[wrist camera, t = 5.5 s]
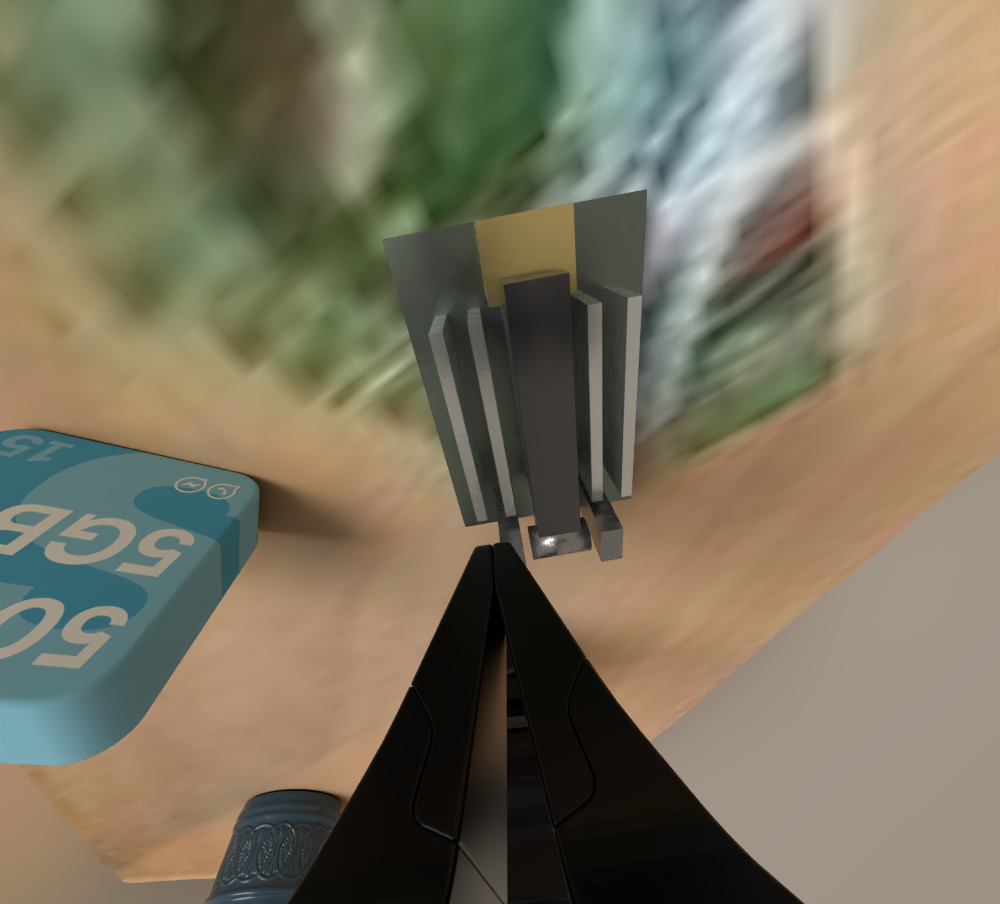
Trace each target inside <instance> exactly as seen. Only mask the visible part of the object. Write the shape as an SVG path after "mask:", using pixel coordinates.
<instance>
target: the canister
mask: <svg viewBox="0 0 1000 904" xmlns="http://www.w3.org/2000/svg"><path fill="white" fill-rule="evenodd" d="M341 810H342V804H341V802H340V801H339V800H338V799H336V798H335V797H332V796H330V795H327V794H323V793H318V792H310V791H280V792H272V793H267V794H263V795H259V796H257V797H254V798H252V799H250V800H249V801H248V802H247V803H246V804H245V806H244V808H243V810H242V812H241V813H240V815H239V816H238V818H237V822H236V824H235V826H234V828H233V834H232V837H231V840H230V843H229V845H228V848H227V850H226V853H225V856H224V858H223V861H222V863H221V866H220V869H219V871H218V874H217V876H216V879H215V882H214V884H213V887H212V889H211V892H210V894H209V897H208V898H207V899H206V901H205V903H204V904H287V903H288V901H289V900H290V898H291V897H292V895H293V894H294V892H295V891H296V889H297V888H298V886H299V885H300V883H301V882H302V880H303V878H304V877H305V875H306V873H307V872H308V870H309V868H310V867H311V865H312V863H313V862H314V860H315V858H316V857H317V855H318V853H319V851H320V850H321V848H322V846H323V844H324V843H325V841H326V839H327V838H328V836H329V834H330V832H331V831H332V829H333V827H334V826H335V824H336V822H337V820H338V819H339V817H340V815H341Z"/></svg>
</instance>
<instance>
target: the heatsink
mask: <svg viewBox="0 0 1000 904" xmlns="http://www.w3.org/2000/svg"><path fill="white" fill-rule="evenodd" d="M646 198H647V189H646V190H641V191H636V192H630V193H625V194H620V195H615V196H609V197H604V198H599V199H594V200H588V201H583V202H578V203H568V204H563V205H558V206H552V207H547V208H542V209H536V210H531V211H526V212H521V213H515V214H510V215H505V216H500V217H494V218H489V219H484V220H478V221H475V222H472V223H467V224H462V225H456V226H451V227H446V228H441V229H435V230H430V231H425V232H419V233H414V234H409V235H404V236H398V237H393V238H388V239H383V240H382V242H383V246H384V249H385V253H386V256H387V260H388V263H389V266H390V270H391V273H392V277H393V280H394V284H395V287H396V290H397V294H398V297H399V301H400V304H401V308H402V311H403V314H404V318H405V321H406V325H407V328H408V332H409V335H410V338H411V342H412V345H413V349H414V352H415V356H416V359H417V362H418V366H419V369H420V373H421V376H422V380H423V383H424V386H425V390H426V393H427V397H428V400H429V404H430V407H431V411H432V414H433V417H434V421H435V424H436V428H437V431H438V435H439V438H440V441H441V445H442V448H443V452H444V455H445V459H446V462H447V465H448V469H449V472H450V476H451V479H452V483H453V486H454V489H455V493H456V496H457V500H458V503H459V507H460V510H461V513H462V517H463V520H464V524H465V527H467V526H473V525H479V524H485V523H491V522H496V521H498V525H499V535H500V543H501V542H510V543H511V545H512V546H513V548H514V549H515V551H516V552H517V554H518V555H519V557H520V558H521V560H522V561H523V563H524V564H525V566H526V561H525V555H524V549H523V544H522V538H521V532H520V526H519V521H518V518H520V517H525V516H531V515H534V509H533V502H532V495H531V488H530V481H529V474H528V467H527V460H526V453H525V446H524V439H523V432H522V425H521V417H520V410H519V403H518V396H517V389H516V382H515V375H514V368H513V361H512V354H511V347H510V340H509V333H508V326H507V319H506V312H505V304H504V297H503V290H502V283H501V281H502V280H508V279H513V278H519V277H524V276H529V275H535V274H540V273H545V272H551V271H556V270H562V269H564V270H566V271H568V272H569V273H570V296H571V320H572V343H573V367H574V390H575V413H576V437H577V460H578V484H579V507H580V509H581V512H582V514H583V517H584V518H585V520H586V522H587V525H588V528H589V532H590V534H591V537H592V539H593V542H594V544H595V547H596V549H597V552H598V554H599V557H600V559H601V562H602V561H608V560H614V559H620V558H622V545H623V527H622V525H621V523H620V521H619V519H618V518H617V516H616V514H615V512H614V510H613V508H612V506H611V504H610V502H612V501H618V500H624V499H630V498H631V495H632V478H633V460H634V441H635V422H636V403H637V385H638V366H639V347H640V328H641V310H642V295H641V294H642V275H643V255H644V236H645V217H646Z"/></svg>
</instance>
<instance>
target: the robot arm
mask: <svg viewBox="0 0 1000 904" xmlns="http://www.w3.org/2000/svg"><path fill="white" fill-rule="evenodd" d="M287 904H804V903H803V902H802V901H801V900H799V899H798V898H797V897H796V896H795V895H794V894H793V893H792V892H790V891H789V890H788V889H787V888H786V887H785V886H783V885H782V884H781V883H780V882H779V881H778V880H777V879H776V878H774V877H773V876H772V875H771V874H770V873H769V872H768V871H766V870H765V869H764V868H763V867H762V866H761V865H759V864H758V863H757V862H756V861H755V860H754V859H753V858H752V857H751V856H750V855H749V854H748V853H747V852H746V851H745V850H744V849H743V848H742V847H741V846H740V845H739V844H737V842H736V841H735V840H734V839H733V838H732V837H731V836H730V835H729V834H728V833H727V832H726V831H725V830H724V829H723V827H722V826H721V825H720V824H719V823H718V822H717V821H716V820H715V819H714V818H713V816H712V815H711V814H710V813H709V812H708V811H707V810H706V808H705V807H704V806H703V805H702V804H701V803H700V801H699V800H698V799H697V798H696V797H695V795H694V794H693V793H692V792H691V791H690V790H689V788H688V787H687V786H686V785H685V783H684V782H683V781H682V780H681V779H680V777H679V776H678V775H677V774H676V773H675V771H674V770H673V769H672V768H671V767H670V765H669V764H668V763H667V762H666V761H665V760H664V758H663V757H662V756H661V755H660V754H659V752H658V751H657V750H656V749H655V748H654V746H653V745H652V744H651V743H650V742H649V740H648V739H647V738H646V737H645V736H644V734H643V733H642V732H641V731H640V730H639V728H638V727H637V726H636V725H635V723H634V722H633V721H632V719H631V718H630V717H629V716H628V714H627V713H626V712H625V711H624V709H623V708H622V707H621V706H620V704H619V703H618V702H617V700H616V699H615V697H614V696H613V695H612V693H611V692H610V690H609V689H608V688H607V686H606V685H605V683H604V682H603V681H602V679H601V678H600V676H599V675H598V673H597V672H596V670H595V669H594V667H593V666H592V664H591V663H590V661H589V660H588V659H586V656H585V654H584V653H583V651H582V650H581V648H580V647H579V645H578V644H577V642H576V641H575V639H574V638H573V636H572V635H571V633H570V632H569V630H568V629H567V627H566V626H565V624H564V623H563V621H562V620H561V618H560V617H559V615H558V614H557V612H556V611H555V609H554V608H553V606H552V605H551V603H550V602H549V600H548V599H547V597H546V596H545V594H544V593H543V591H542V590H541V588H540V587H539V585H538V584H537V582H536V581H535V579H534V578H533V576H532V575H531V573H530V572H529V570H528V569H527V567H526V566H525V564H524V563H523V561H522V560H521V558H520V557H519V555H518V554H517V552H516V551H515V549H514V548H513V546H512V545H511V543H510V542H501V543H495V544H494V545H493V546H492V545H483V546H477V547H476V548H475V549H474V551H473V553H472V555H471V557H470V559H469V561H468V563H467V566H466V568H465V570H464V572H463V574H462V576H461V578H460V581H459V583H458V585H457V587H456V589H455V591H454V593H453V596H452V598H451V600H450V602H449V604H448V606H447V608H446V610H445V613H444V615H443V617H442V619H441V621H440V623H439V625H438V628H437V630H436V632H435V634H434V636H433V638H432V640H431V642H430V645H429V647H428V649H427V651H426V653H425V655H424V657H423V660H422V662H421V664H420V666H419V668H418V670H417V672H416V674H415V677H414V679H413V681H412V687H409V689H408V691H407V693H406V695H405V698H404V700H403V702H402V704H401V706H400V708H399V710H398V712H397V714H396V716H395V718H394V720H393V722H392V724H391V726H390V728H389V730H388V732H387V734H386V736H385V738H384V740H383V742H382V744H381V745H380V747H379V749H378V751H377V753H376V754H375V756H374V758H373V760H372V762H371V763H370V765H369V767H368V769H367V771H366V772H365V774H364V776H363V778H362V779H361V781H360V783H359V784H358V786H357V788H356V790H355V791H354V793H353V795H352V796H351V798H350V800H349V802H348V803H347V805H346V807H345V808H344V810H343V812H342V814H341V815H340V817H339V819H338V820H337V822H336V824H335V826H334V827H333V829H332V831H331V832H330V834H329V836H328V838H327V839H326V841H325V843H324V844H323V846H322V848H321V850H320V851H319V853H318V855H317V857H316V858H315V860H314V862H313V863H312V865H311V867H310V868H309V870H308V872H307V873H306V875H305V877H304V878H303V880H302V882H301V883H300V885H299V886H298V888H297V889H296V891H295V892H294V894H293V895H292V897H291V898H290V900H289V901H288V903H287Z"/></svg>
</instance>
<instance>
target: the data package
mask: <svg viewBox="0 0 1000 904" xmlns="http://www.w3.org/2000/svg"><path fill="white" fill-rule="evenodd" d="M259 495H260V491H259V487H258V485H257V483H256V482H255V481H254V480H253V479H251V478H250V477H248V476H246V475H243V474H239V473H235V472H231V471H226V470H222V469H217V468H213V467H208V466H204V465H199V464H195V463H190V462H186V461H181V460H177V459H172V458H168V457H163V456H158V455H154V454H149V453H145V452H140V451H136V450H131V449H127V448H122V447H118V446H113V445H109V444H104V443H100V442H95V441H91V440H86V439H82V438H77V437H73V436H68V435H64V434H59V433H55V432H50V431H44V430H34V429H19V430H7V431H0V763H2V764H3V763H4V764H31V765H64V764H70V763H74V762H78V761H81V760H84V759H87V758H90V757H92V756H94V755H97V754H99V753H101V752H102V751H104V750H106V749H108V748H109V747H111V746H113V745H114V744H116V743H117V742H118V741H120V740H121V739H123V738H124V737H125V736H126V735H127V734H128V733H130V732H131V731H132V730H133V729H134V728H135V727H136V726H137V725H138V723H139V722H140V721H141V720H142V719H143V717H144V716H145V714H146V713H147V712H148V710H149V708H150V707H151V705H152V704H153V702H154V701H155V699H156V698H157V696H158V695H159V693H160V692H161V690H162V689H163V687H164V686H165V684H166V683H167V681H168V680H169V678H170V677H171V675H172V674H173V672H174V671H175V669H176V668H177V666H178V665H179V663H180V662H181V660H182V658H183V657H184V655H185V654H186V652H187V651H188V649H189V648H190V646H191V645H192V643H193V642H194V640H195V639H196V637H197V636H198V634H199V633H200V631H201V630H202V628H203V627H204V625H205V624H206V622H207V621H208V619H209V618H210V616H211V615H212V613H213V612H214V610H215V609H216V607H217V605H218V604H219V602H220V601H221V599H222V598H223V596H224V595H225V593H226V592H227V590H228V589H229V587H230V586H231V584H232V583H233V581H234V580H235V578H236V577H237V575H238V574H239V572H240V571H241V569H242V568H243V566H244V565H245V563H246V562H247V560H248V559H249V557H250V555H251V554H252V552H253V551H254V549H255V548H256V545H257V540H258V517H259Z"/></svg>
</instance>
